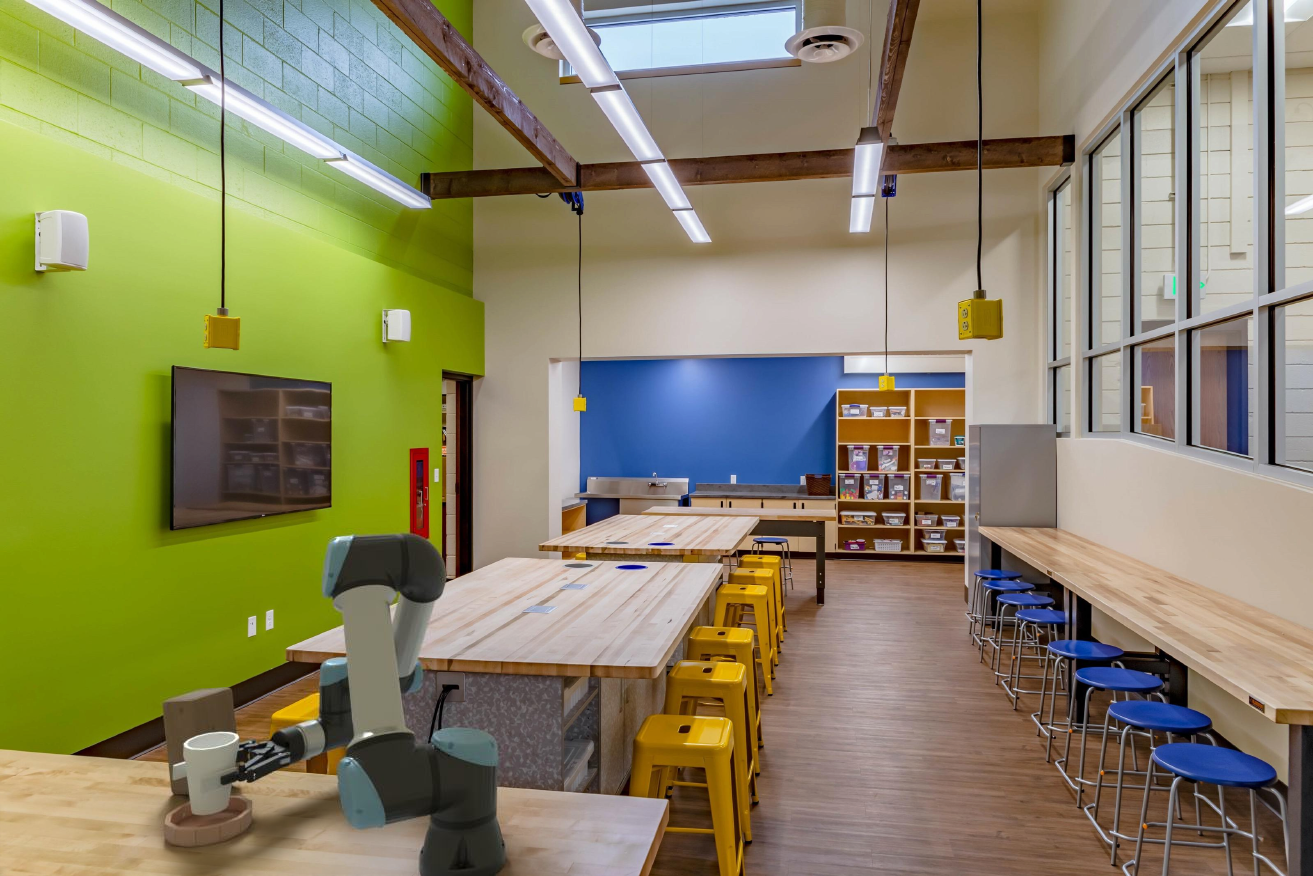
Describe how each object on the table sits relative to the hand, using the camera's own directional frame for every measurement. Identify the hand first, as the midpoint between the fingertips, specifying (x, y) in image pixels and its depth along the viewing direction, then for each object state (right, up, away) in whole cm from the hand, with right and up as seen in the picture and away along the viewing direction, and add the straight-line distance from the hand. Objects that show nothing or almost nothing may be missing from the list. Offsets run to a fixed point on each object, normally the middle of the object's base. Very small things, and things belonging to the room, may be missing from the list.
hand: (187, 779), depth 150 cm
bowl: (+2, -11, +3) cm, 12 cm away
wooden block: (-8, -11, +21) cm, 24 cm away
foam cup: (+2, -7, +4) cm, 8 cm away
